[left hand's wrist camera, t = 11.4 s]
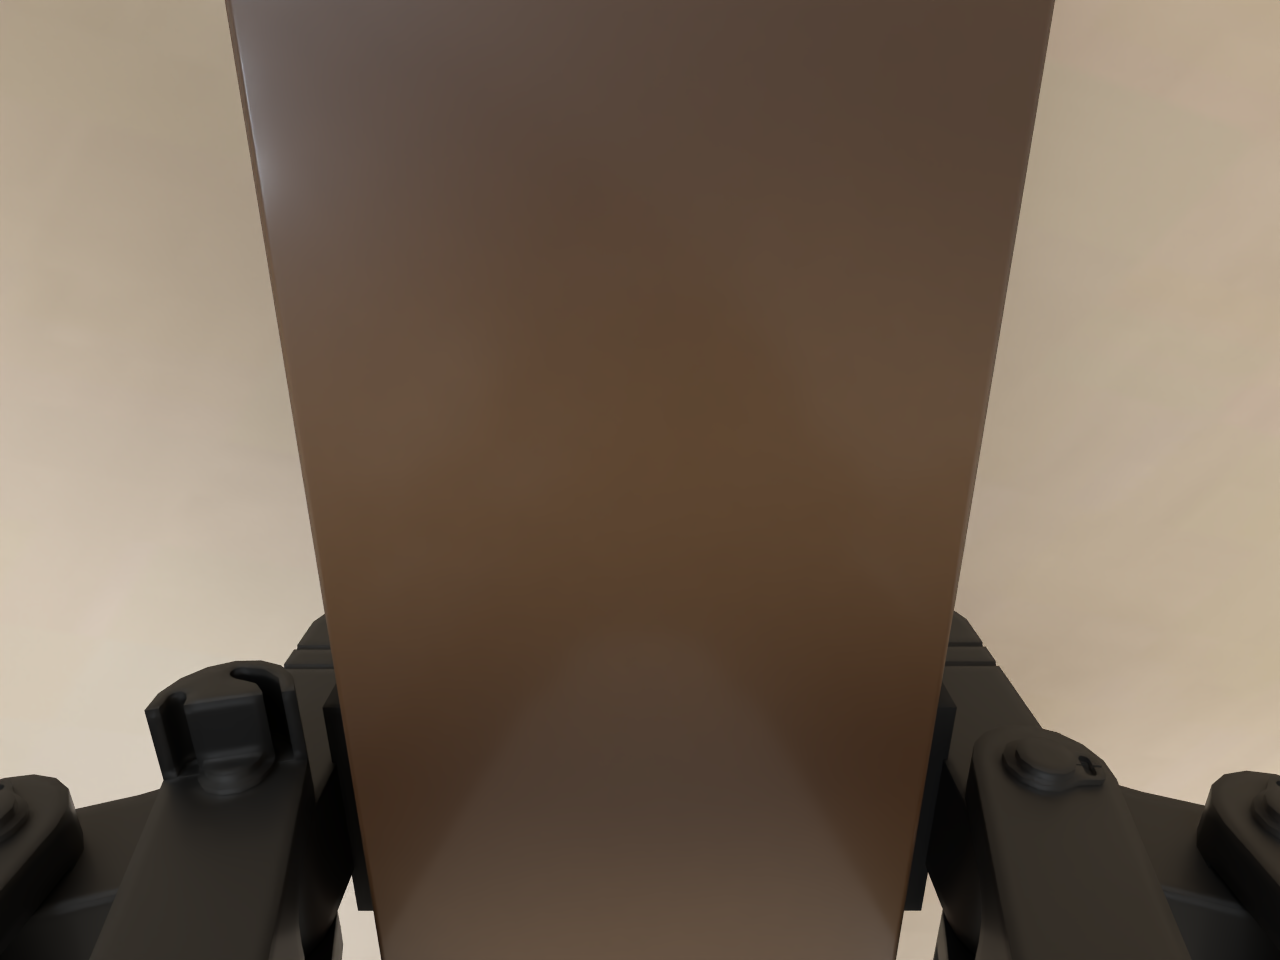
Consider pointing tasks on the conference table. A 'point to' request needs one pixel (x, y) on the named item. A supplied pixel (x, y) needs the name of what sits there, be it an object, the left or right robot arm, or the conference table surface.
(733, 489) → the post
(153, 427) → the conference table surface
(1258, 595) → the conference table surface
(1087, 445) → the conference table surface
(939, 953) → the left robot arm
